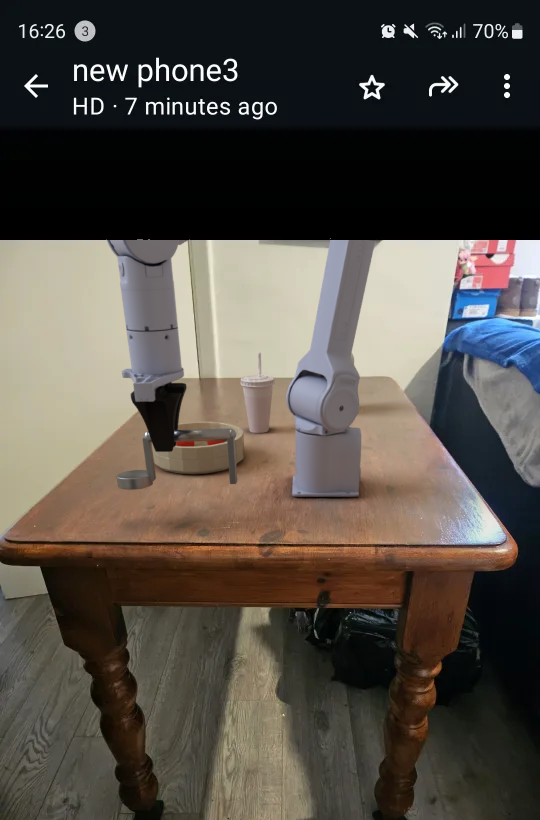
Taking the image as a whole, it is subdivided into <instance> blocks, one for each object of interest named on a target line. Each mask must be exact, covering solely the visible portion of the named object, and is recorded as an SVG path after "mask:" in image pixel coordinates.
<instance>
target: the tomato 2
mask: <svg viewBox="0 0 540 820" xmlns="http://www.w3.org/2000/svg"><path fill="white" fill-rule="evenodd" d="M224 442H225V441H207V443H208V445H215V444H220V443H224Z"/></svg>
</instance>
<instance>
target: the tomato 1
mask: <svg viewBox="0 0 540 820" xmlns="http://www.w3.org/2000/svg"><path fill="white" fill-rule="evenodd" d="M177 446H182V447H194V441H189V442H177Z"/></svg>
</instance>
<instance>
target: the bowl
mask: <svg viewBox="0 0 540 820" xmlns="http://www.w3.org/2000/svg"><path fill="white" fill-rule="evenodd" d="M229 428H231V429H234V430H235V432H236V437H235V454H236V465H237V464H238V463H239V462H241V461H242V460H243V459H244V457H245V440H244V439H245V435H244V430H243V429H242V428H241V427H239V426H237V425H235V424H232V423H227V422H221V421H220V422H219V421H189V422H181V423H178V430H193V429H229ZM152 451H153V459H154V465H156V466H157V467H159V468H161V469H163V470H164V471H167V472H171V473H176V474H183V475H203V474H212V473H216V472H217V473H218V472H221V471H225V470H229V462H228V447H227V441H225V442H224V443H220V444H215V445H208V443H207V441H194V447H182V446H177V442H176V446H175V447H173V451H172V452H156V451H155V449H154V446H153V444H152Z"/></svg>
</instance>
